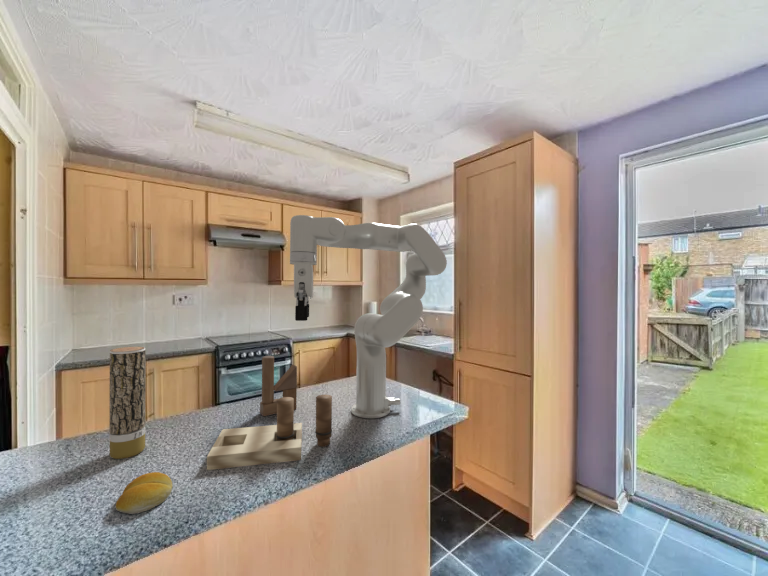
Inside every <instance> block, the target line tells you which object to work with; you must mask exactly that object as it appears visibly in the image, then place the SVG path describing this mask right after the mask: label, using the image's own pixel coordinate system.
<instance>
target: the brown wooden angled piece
mask: <svg viewBox="0 0 768 576" xmlns="http://www.w3.org/2000/svg"><path fill="white" fill-rule="evenodd" d="M297 372H298V366H296V365H295V364H292V365H291V366H290V367H289V368H288V369H287V370H286V371H285V373H284V374H283V375H282V376H281V377H280V378H279V380H277V382H276V383H275V356H274V355H265V356H262V358H261V401H260V403H259V413H260V415H261V416H262V417H267V416H271V415H277V400H278V399H279V398H276V399H275V392H280V391H282V397H292V398H294V411H295V410H297V392H298V391H297V383H298V382H297V379H298V378H297V377H298V376H297V375H298V373H297Z"/></svg>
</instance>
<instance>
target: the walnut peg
mask: <svg viewBox="0 0 768 576" xmlns="http://www.w3.org/2000/svg"><path fill="white" fill-rule="evenodd" d="M332 403H333V396H332V395H331V394H319V395H316V397H315V438H316V439H317V441H316V443H317V444H316V445H317V446H318V447H320V448H321V447H322V448H323V447H325V448H326V447H328V446H330V444H331V437H332V432H333V427H332V426H333V425H332V423H333V422H332V421H333V420H332V419H333V417H332V415H333V408H332V407H333V404H332Z"/></svg>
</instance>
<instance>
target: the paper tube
mask: <svg viewBox="0 0 768 576" xmlns="http://www.w3.org/2000/svg"><path fill="white" fill-rule="evenodd" d="M146 353H147V350H146V346H125V347H124V346H122V347H115V348H113V349H110V350H109V431H108V432H109V435H108V436H109V438H108V439H109V456H110V458H112V459H114V460H123V459H129V458H132V457H134V456H136V455H139V454H140V453H142V452H143V451H144V450H145V448H146V380H147V379H146V374H147V372H146V369H147V368H146V366H147V365H146V359H147V357H146Z"/></svg>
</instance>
